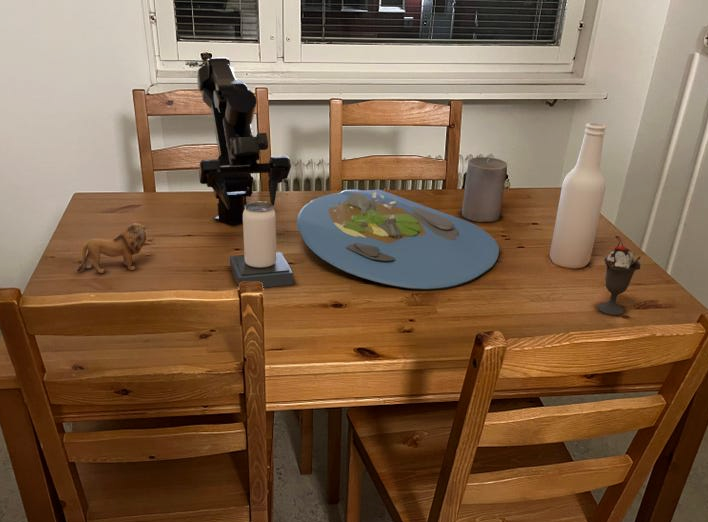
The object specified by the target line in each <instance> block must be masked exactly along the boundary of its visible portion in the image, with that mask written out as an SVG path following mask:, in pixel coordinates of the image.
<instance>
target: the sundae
mask: <svg viewBox="0 0 708 522" xmlns="http://www.w3.org/2000/svg"><path fill="white" fill-rule="evenodd" d="M614 237H615V238H616V240H618V244H617V245H615V246H614V247H613V251H611V252H609V254H608V256H606V257H605V258H603V261H604V263H605V265H606V271H605V288H606V289H607V291H608V292H609V293H610V298H609V300H608V302H603V303H599V304H598V305H597V309H598V310H599V311H600V312H601V313H603V314H606V315H609V316H620V315H623V314H624V311H625V310H624V309H623V307H622V306H621V305H618V304H617V299H618V296H619V295H621V294H623V293H625V292H626V291H627V290H628V287H629V286H630V283H631V281H632V278H633V276H634V274H635V272H636V271H638V270H640V269H641V263H640V261H639V260H640V259H641V258H642V257H641V256H638V257H637V258H636V259H635V258H634V255H635V254H634V253H633V251H632V250H631V249H629V248H627V247H626V246H625V245H624V244H623V242H622V239H621V238H620V236H619V235H615V236H614ZM620 244H621V246H620Z"/></svg>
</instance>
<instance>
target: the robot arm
mask: <svg viewBox="0 0 708 522" xmlns="http://www.w3.org/2000/svg"><path fill="white" fill-rule="evenodd" d="M234 71H235V70H234V68H233V67H232V66H231V62H230V59H229V58H227V57H210V58H207V59H206V63H205V64H204V65H202V66H201V67H199V68H198V70H197V76H196V77H197V79H196V81H197V90H198V92H200V93H201V97H202V102H203V103H205V104H206V106H207V107H208V108H209V109H210V111H211V116H212V123H213V128H214V134H215V140H216V145H217V151H218V157H217V158H214V159H212V158H211V159H210V158H209V159H202V160H200V161H199V166H198V178H199V183H200V184H201V185H206V187H207V188H212V191H213V195H214V198H215V200H217V201H218V203H217V215H216V216H214V219H215V220H216V221H218V222H219V221H220V222H222V223H224V224H227V225H230V226H237V225H239V224H241V223H242V224H243V212H244V210H245V205H246V204H247V197H252V195H253V185H254V176H253V175H252V174H267V175H268V192H269V203H270V204H272V205H273V207H275V202H276V196H277V189H278V184H281V183H283V180H286V179H288V177H289V174H290V171H291V169H292V163H291V159H290V157H288V156H287V155H275V156H274V155H273V156H270V158H269V160H268V162H260V163H259V162H258V161H260V157H261V156H260V154H261V151H266V150H268V149H269V140H268V133H267V132H258V133H257V134H256V136H254V135H253V128H252V123H253V120H254V116H255V111H256V107H257V97H256V96H255V94H254V93H253V91H252V90H251V89H249V88H248V86H247V84H246V83H245V82H244V81H243V80H239V79H237V78H236V76H235V73H234Z"/></svg>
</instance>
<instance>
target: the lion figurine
mask: <svg viewBox="0 0 708 522" xmlns="http://www.w3.org/2000/svg"><path fill="white" fill-rule="evenodd" d="M146 241H147V232H146V229H145V225H143V224H141V223H137V222H134V223H131V224H129V225H127V228H126V230H124V231H123V232H121V233H120V234H119V235H117V237H115V238H112V239H103V238H91V239H89V240H87V242H85V244H84V246H83V248H82V255H81V263H80V266H79V267H78V268H77V269H76V272H80V271H82V269H83V268H85V269H91V268H92V265H91V264H89V262H90V261H91V260H93V267H94V268H95V270H96V271H97V273H99V274H104V273H105V272H106V271H105V269H104V268H100V265H99V263H100V259H101V254H102V255H104V256H106V257H110V258H118V257H122V258H123V264H124V265H125V266H126V267H127V268H128V270H129V271H135V270H136V266H133V255H136V254H139V253H140V252H141V250H142V248H143V247H144V245H145V244H146Z"/></svg>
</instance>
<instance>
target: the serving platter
mask: <svg viewBox="0 0 708 522" xmlns="http://www.w3.org/2000/svg"><path fill="white" fill-rule="evenodd" d="M296 227H297V229H298V231H299V233H300V235H301V238H302V239H303V242H304V243H305V244H306V245H307V247H308V248H309V249H310V250H311V251H312V252H313V253H314V254H316V255H317V256H318V258H320V259H322V260H323V261H325V262H326V263H328V264H330V266H333V267H335V268H336V269H338V270H340V271H343V272H344V273H347V274H349V275H352V276H355V277H357V278H360V279H363V280H367V281H370V282H374V283H377V284H380V285H381V284H382V285H386V286H389V287H390V286H391V287H395V288H401V289H407V290H419V291H434V290H443V289H450V288H455V287H459V286H462V285H465V284H467V283H469V282H472V281H474V280H476V279H478V278H480V277H481V276H482V275H483V274H485V273H486V272H488V271H490V270H491V269H492V268H493V266H494V265H495V264H496V262H497V260H498V257H499V254H500V247H499V244H498V242H497V241H496V240H495V239H494V237H493V236H492V235H491V234H489V233H488V232H487V230H484V229H482V227H480V226H478V225H476V224H475V223H472V222H470V221H468V220H465V219H462V218H459V217H456V216H454V215H451V214H449V213H445V212H443V211H439V210H438V209H434V208H432V207H429V206H425V205H423V204H421V203H417V202H415V201H413V200H409V199H407V198H404V197H401V196H399V195H395V194H393V193H390V192H388V191H386V188H385V187H384V188H383V189H368V190H362V189H345V190H342V191H341V192H340V191H339V192H336V193H335V192H334V193H330V194H325V195H322V196H318V197H317V198H315V199H312V200H310V201H309V202H307V203H306V204H305V205H304V206H303V207H301V209H300V210H299V212H298V215H297V218H296Z"/></svg>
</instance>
